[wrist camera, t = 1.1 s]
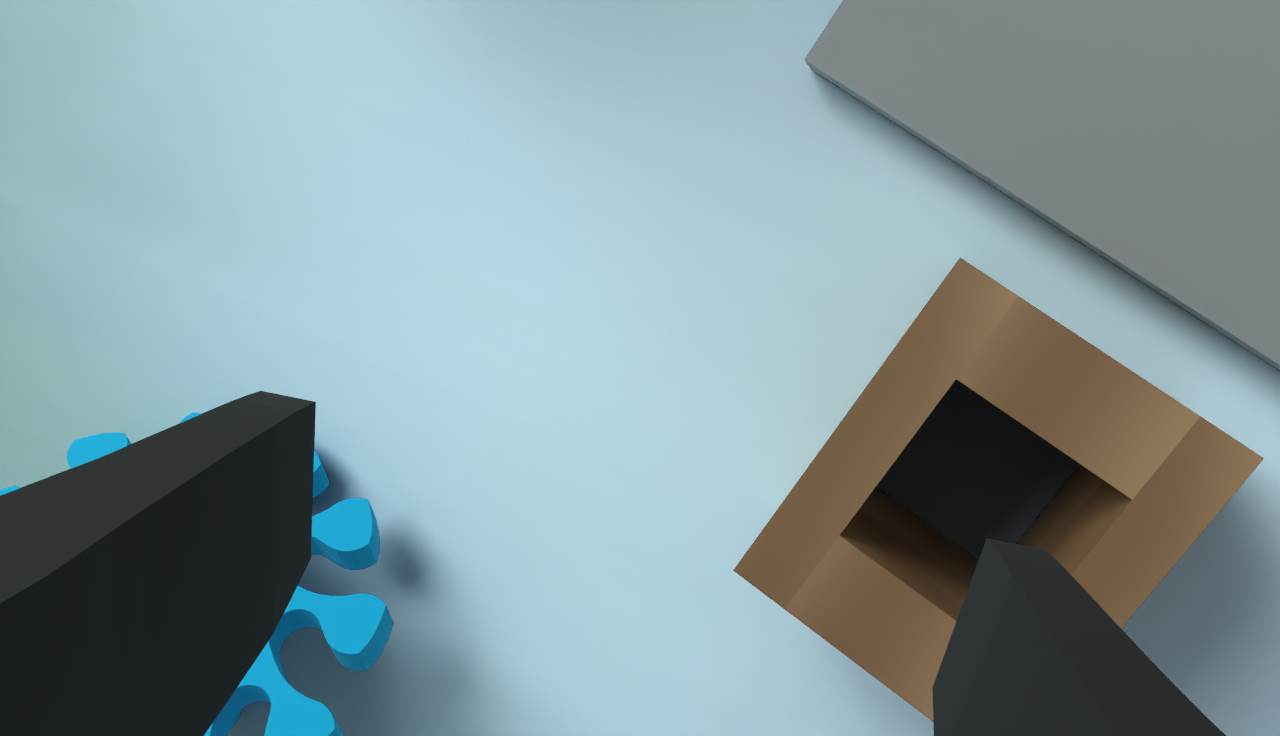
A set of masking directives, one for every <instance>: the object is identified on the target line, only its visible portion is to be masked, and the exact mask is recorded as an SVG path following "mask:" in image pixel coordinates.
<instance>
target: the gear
mask: <svg viewBox="0 0 1280 736" xmlns="http://www.w3.org/2000/svg"><path fill="white" fill-rule="evenodd" d="M198 415H200V414H199V413H191V414H190V415H188V416H186V417H185V418H184V419H183V420H182V421H181V422H180V423H182V422H184V421H187V420H189V419H191V418H193V417H196V416H198ZM180 423H179V424H180ZM128 445H131V443H130V441H129V440H128V438H127V437H126V435H125V433H103V434H98V435H93V436H89V437H85V438H81V439H77V440H75V441H74V442H73V443H72V445H71V446H70V448H69V450H68V454H67V461H68V464H69V466H70V468H71V469H72V468H74V467H77V466H80V465H82V464H85V463H87V462H90V461H93V460H95V459H98V458H100V457H103V456H105V455H107V454H110V453H112V452H114V451H117V450H119V449H121V448H124V447H126V446H128ZM328 485H329V480H328V477H327V475H326V472H325V470H324V468H323V466H322V463H321V461H320V459H319V456H318V455H317V453H316V451H315V450H314V470H313V498H314V497H316V496H318V495H319V494H321V493H322V492H323V491H324V490H325V489H326V488H327V487H328ZM17 489H19V487H17V486H12V487H9V488H6V489H3V490H1V491H0V496H1V495H4V494H6V493H9V492H11V491H14V490H17ZM379 551H380V538H379V531H378V526H377V521H376V518H375V515H374V513H373V510H372V508H371V505H370V503H369V500H367V499H363V498H350V499H345V500H343V501H340V502H338V503H337V504H335V505H333V506H332V507H330V508H329V509H327V510H325V511H323V512H321V513H319V514H317V515H315V516H312V537H311V555H312V554H317V555H322V556H324V557H326V558H328V559H329V560H331V561H333V562H334V563H336V564H337V565H339V566H341V567H343V568H345V569H349V570H360V569H365V568H367V567H370V566H372V565H374V564H375V563H377V560H378V556H379ZM393 624H394V623H393V620H392V618H391V616H390V614H389V611H388V609H387V607H386V605H385V604H384V603H383V601H382V600H381V599H379V598H377V597H376V596H373V595H370V594H362V593H359V594H353V595H347V596H329V595H322V594H317V593H314V592H311V591H307V590H305V589H303V588H301V587H300V586H297V588H296V590H295V592H294V594H293V596H292V598H291V600H290V602H289V604H288V606H287V608H286V610H285V612H284V614H283V616H282V618H281V620H280V621H279V623H278V625H277V627H276V629H275V631H274V633H273V635H272V636H271V638H270V639H269V641H268V642H267V644H266V645H265V647H264V649H263V650H262V652H261V653H260V655H259V656H258V657H257V659H256V660H255V662H254V663H253V665H252V666H251V668H250V669H249V671H248V672H247V674H246V675H245V677H244V678H243V680H242V681H241V683H240V684H239V685H238V687H237V688H236V690H235V691H234V693H233V694H232V696H231V697H230V699H229V700H228V702H227V703H226V704H225V706H224V707H223V709H222V710H221V712H220V713H219V715H218V716H217V717H216V719H215V720H214V722H213V723H212V725H211V726H210V728H209V729H208V730H207V732H206V733H205V735H204V736H227V735H228V731H229V729H231V728H232V727H233V726H234V725H235V724H236V722H237V721H238V719H239V717H240V715H241V709H242V708H244V707H245V706H247V705H249V704H251V703H253V702H259V701H265V702H269V703H271V709H270V714H269V718H268V722H267V725H266V729H265V734H264V736H344V735H343V733H342V730H341V728H340V726H339V725H338V723H337V721H336V720H335V718H334V717H333V715H332V713H331V712H330V711H329V709H328V708H327V707H326V706H325V705H323V704H322V703H320V702H318V701H316V700H313V699H310V698H307V697H306V696H304V695H302V694H301V693H299V692H298V691H296V690H295V689H294V688H293V687H292V686H290V685H289V684H288V682H287V679H286V677H285V674H284V671H283V668H282V665H281V662H280V656H279V655H280V649H281V646H282V644H283V642H284V641H285V639H286V638H287V637H288V636H289V635H290V634H291V633H293V632H294V631H296V630H298V629H301V628H305V627H314V628H318V629H320V630H322V631H323V633H324V636H325V638H326V640H327V642H328V644H329V646H330V648H331V649H332V651H333V653H334V655H335V657H336V658H337V660H338V661H339V662H340V663H341V665H343V666H344V667H346V668H348V669H351V670H355V671H365V670H368V669H369V668H370V667H371V666H372V665H373V664H374V663H375V662H376V660H377V659H378V657H379V656H380V654H381V652H382V651H383V649H384V647H385V644H386V642H387V640H388V638H389V635H390V632H391V630H392V627H393Z"/></svg>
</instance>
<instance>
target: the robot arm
mask: <svg viewBox="0 0 1280 736" xmlns="http://www.w3.org/2000/svg"><path fill="white" fill-rule="evenodd" d="M315 403H316V402H313V401H308V400H303V399H298V398H293V397H288V396H283V395H278V394H273V393H268V392H263V391H259V392H256V393H253V394H250V395H247V396H244V397H242V398H239V399H236V400H234V401H231V402H229V403H226V404H224V405H221V406H219V407H217V408H214V409H212V410H210V411H207V412H205V413H203V414H200V415H198V416H196V417H193V418H191V419H189V420H187V421H184V422H182V423H180V424H177V425H175V426H173V427H171V428H168V429H166V430H164V431H161V432H159V433H157V434H154V435H152V436H150V437H147V438H145V439H143V440H140V441H138V442H135V443H133V444H131V445H128V446H126V447H124V448H121V449H119V450H117V451H114V452H112V453H110V454H107V455H105V456H103V457H100V458H98V459H95V460H93V461H90V462H87V463H85V464H82V465H80V466H77V467H74V468H72V469H69V470H67V471H64V472H61V473H59V474H56V475H53V476H51V477H48V478H46V479H43V480H40V481H38V482H35V483H32V484H30V485H27V486H25V487H22V488H19V489H17V490H14V491H11V492H9V493H6V494H4V495H1V496H0V736H204V735H205V733H206V732H207V730H208V729H209V728H210V726H211V725H212V723H213V722H214V720H215V719H216V717H217V716H218V715H219V713H220V712H221V710H222V709H223V707H224V706H225V704H226V703H227V702H228V700H229V699H230V697H231V696H232V694H233V693H234V691H235V690H236V688H237V687H238V685H239V684H240V683H241V681H242V680H243V678H244V677H245V675H246V674H247V672H248V671H249V669H250V668H251V666H252V665H253V663H254V662H255V660H256V659H257V657H258V656H259V655H260V653H261V652H262V650H263V649H264V647H265V645H266V644H267V642H268V641H269V639H270V638H271V636H272V635H273V633H274V631H275V629H276V627H277V625H278V623H279V621H280V620H281V618H282V616H283V614H284V612H285V610H286V608H287V606H288V604H289V602H290V600H291V598H292V596H293V594H294V592H295V590H296V588H297V586H298V584H299V581H300V579H301V577H302V575H303V573H304V571H305V569H306V567H307V565H308V563H309V561H310V559H311V537H312V503H313V470H314V437H315ZM932 690H933V720H934V736H1226V735H1225V734H1224V733H1223V732H1222V731H1220V730H1219V729H1218V728H1217V727H1216V726H1215V725H1214V724H1213V723H1212V722H1211V721H1210V720H1209V719H1208V718H1207V717H1206V716H1205V715H1204V714H1203V713H1202V712H1201V711H1200V710H1199V709H1198V708H1197V707H1196V706H1195V705H1194V704H1193V703H1192V702H1191V701H1190V700H1189V699H1188V698H1187V697H1186V696H1185V695H1184V694H1183V693H1182V692H1181V691H1180V690H1179V689H1178V688H1177V687H1176V686H1175V685H1174V684H1173V683H1172V682H1171V681H1170V680H1169V679H1168V678H1167V677H1166V676H1165V675H1164V674H1163V673H1162V672H1161V671H1160V670H1159V669H1158V668H1157V667H1156V665H1155V664H1154V663H1153V662H1152V661H1151V660H1150V659H1149V658H1148V657H1147V656H1146V655H1145V654H1144V653H1143V652H1142V651H1141V650H1140V649H1139V648H1138V646H1137V645H1136V644H1135V643H1134V642H1133V641H1132V640H1131V639H1130V638H1129V637H1128V636H1127V635H1126V634H1125V633H1124V631H1123V630H1122V629H1121V628H1120V627H1119V626H1118V625H1117V624H1116V623H1115V622H1114V621H1113V620H1112V618H1111V617H1110V616H1109V615H1108V614H1107V613H1106V612H1105V611H1104V610H1103V609H1102V608H1101V606H1100V605H1099V604H1098V603H1097V602H1096V601H1095V600H1094V599H1093V598H1092V597H1091V596H1090V595H1089V593H1088V592H1087V591H1086V590H1085V589H1084V588H1083V587H1082V586H1081V585H1080V584H1079V583H1078V582H1077V581H1076V580H1075V579H1074V577H1073V576H1072V575H1071V574H1070V573H1069V572H1068V571H1067V570H1066V569H1065V568H1064V567H1063V566H1062V565H1061V564H1060V563H1059V562H1058V561H1057V560H1056V559H1055V558H1054V557H1053V556H1052V555H1050V554H1049V553H1048V552H1047V551H1046V550H1044V549H1039V548H1034V547H1029V546H1024V545H1019V544H1014V543H1009V542H1004V541H999V540H995V539H990V538H986V541H985V544H984V547H983V549H982V552H981V555H980V558H979V560H978V563H977V566H976V569H975V571H974V574H973V577H972V580H971V582H970V585H969V588H968V591H967V593H966V596H965V599H964V602H963V605H962V607H961V610H960V613H959V616H958V618H957V621H956V624H955V627H954V629H953V632H952V635H951V638H950V640H949V643H948V646H947V649H946V651H945V654H944V657H943V660H942V662H941V665H940V668H939V671H938V674H937V676H936V679H935V682H934V685H933V687H932Z"/></svg>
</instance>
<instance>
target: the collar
mask: <svg viewBox="0 0 1280 736" xmlns="http://www.w3.org/2000/svg"><path fill="white" fill-rule="evenodd" d="M956 379H957V380H958V381H960V382H961V383H963V384H964V385H966V386H967V387H968V388H970V389H971V390H973V391H974V392H976V393H977V394H979V395H980V396H982V397H983V398H985V399H986V400H987V401H989V402H990V403H992V404H993V405H995V406H996V407H998V408H999V409H1001V410H1002V411H1003V412H1005V413H1006V414H1008V415H1009V416H1011V417H1012V418H1014V419H1015V420H1017V421H1018V422H1020V423H1021V424H1022V425H1024V426H1025V427H1027V428H1028V429H1030V430H1031V431H1033V432H1034V433H1036V434H1037V435H1039V436H1040V437H1041V438H1043V439H1044V440H1046V441H1047V442H1049V443H1050V444H1052V445H1053V446H1055V447H1056V448H1057V449H1059V450H1060V451H1062V452H1063V453H1065V454H1066V455H1068V456H1069V457H1071V458H1072V459H1074V460H1075V461H1076V462H1078V463H1079V464H1080V465H1079V466H1078V467H1077V468H1076V470H1075V471H1074V472H1073V473H1072V475H1071V476H1070V477H1069V478H1068V480H1067V481H1066V482H1065V483H1064V485H1063V486H1062V487H1061V489H1060V490H1059V491H1058V492H1057V494H1056V495H1055V496H1054V497H1053V499H1052V500H1051V501H1050V502H1049V504H1048V505H1047V506H1046V507H1045V509H1044V510H1043V511H1042V512H1041V514H1040V515H1039V516H1038V518H1037V519H1036V520H1035V521H1034V523H1033V524H1032V525H1031V526H1030V528H1029V529H1028V530H1027V531H1026V533H1025V534H1024V535H1023V536H1022V538H1021V539H1020V540H1019V541H1018V543H1017V544H1019V545H1024V546H1029V547H1034V548H1039V549H1044V550H1046V551H1047V552H1048V553H1049V554H1050V555H1052V556H1053V557H1054V558H1055V559H1056V560H1057V561H1058V562H1059V563H1060V564H1061V565H1062V566H1063V567H1064V568H1065V569H1066V570H1067V571H1068V572H1069V573H1070V574H1071V575H1072V576H1073V577H1074V579H1075V580H1076V581H1077V582H1078V583H1079V584H1080V585H1081V586H1082V587H1083V588H1084V589H1085V590H1086V591H1087V592H1088V593H1089V595H1090V596H1091V597H1092V598H1093V599H1094V600H1095V601H1096V602H1097V603H1098V604H1099V605H1100V606H1101V608H1102V609H1103V610H1104V611H1105V612H1106V613H1107V614H1108V615H1109V616H1110V617H1111V618H1112V620H1113V621H1114V622H1115V623H1116V624H1117V625H1118V626H1119V627H1120V628H1122V627H1123V626H1124V624H1125V623H1126V622H1127V621H1128V620H1129V619H1130V617H1131V616H1132V615H1133V614H1134V613H1135V611H1136V610H1137V609H1138V608H1139V607H1140V605H1141V604H1142V603H1143V602H1144V601H1145V599H1146V598H1147V597H1148V596H1149V595H1150V594H1151V592H1152V591H1153V590H1154V589H1155V588H1156V586H1157V585H1158V584H1159V583H1160V582H1161V580H1162V579H1163V578H1164V577H1165V576H1166V574H1167V573H1168V572H1169V571H1170V570H1171V569H1172V567H1173V566H1174V565H1175V564H1176V563H1177V561H1178V560H1179V559H1180V558H1181V557H1182V555H1183V554H1184V553H1185V552H1186V551H1187V549H1188V548H1189V547H1190V546H1191V545H1192V543H1193V542H1194V541H1195V540H1196V539H1197V538H1198V536H1199V535H1200V534H1201V533H1202V532H1203V530H1204V529H1205V528H1206V527H1207V526H1208V524H1209V523H1210V522H1211V521H1212V520H1213V518H1214V517H1215V516H1216V515H1217V514H1218V513H1219V511H1220V510H1221V509H1222V508H1223V507H1224V505H1225V504H1226V503H1227V502H1228V501H1229V499H1230V498H1231V497H1232V496H1233V495H1234V493H1235V492H1236V491H1237V490H1238V489H1239V487H1240V486H1241V485H1242V484H1243V483H1244V482H1245V480H1246V479H1247V478H1248V477H1249V476H1250V474H1251V473H1252V472H1253V471H1254V470H1255V468H1256V467H1257V466H1258V465H1259V464H1260V462H1261V461H1262V460H1263V459H1264V458H1262V457H1261V456H1259V455H1258V454H1256V453H1255V452H1253V451H1252V450H1250V449H1249V448H1247V447H1246V446H1244V445H1243V444H1241V443H1240V442H1238V441H1237V440H1235V439H1234V438H1232V437H1231V436H1229V435H1228V434H1226V433H1225V432H1223V431H1222V430H1220V429H1219V428H1217V427H1215V426H1214V425H1212V424H1211V423H1209V422H1208V421H1206V420H1205V419H1203V418H1202V417H1200V416H1199V415H1197V414H1196V413H1194V412H1193V411H1191V410H1190V409H1188V408H1187V407H1185V406H1184V405H1182V404H1181V403H1179V402H1178V401H1176V400H1175V399H1173V398H1172V397H1170V396H1169V395H1167V394H1166V393H1164V392H1163V391H1161V390H1160V389H1158V388H1156V387H1155V386H1153V385H1152V384H1150V383H1149V382H1147V381H1146V380H1144V379H1143V378H1141V377H1140V376H1138V375H1137V374H1135V373H1134V372H1132V371H1131V370H1129V369H1128V368H1126V367H1125V366H1123V365H1122V364H1120V363H1119V362H1117V361H1116V360H1114V359H1113V358H1111V357H1110V356H1108V355H1107V354H1105V353H1104V352H1102V351H1101V350H1099V349H1097V348H1096V347H1094V346H1093V345H1091V344H1090V343H1088V342H1087V341H1085V340H1084V339H1082V338H1081V337H1079V336H1078V335H1076V334H1075V333H1073V332H1072V331H1070V330H1069V329H1067V328H1066V327H1064V326H1063V325H1061V324H1060V323H1058V322H1057V321H1055V320H1054V319H1052V318H1051V317H1049V316H1048V315H1046V314H1045V313H1043V312H1042V311H1040V310H1039V309H1037V308H1035V307H1034V306H1032V305H1031V304H1029V303H1028V302H1026V301H1025V300H1023V299H1022V298H1020V297H1019V296H1017V295H1016V294H1014V293H1013V292H1011V291H1010V290H1008V289H1007V288H1005V287H1004V286H1002V285H1001V284H999V283H998V282H996V281H995V280H993V279H992V278H990V277H989V276H987V275H986V274H984V273H983V272H981V271H980V270H978V269H976V268H975V267H973V266H972V265H970V264H969V263H967V262H966V261H964V260H963V259H961V258H960V259H959V260H958V261H957V263H956V264H955V265H954V267H953V268H952V270H951V271H950V272H949V274H948V275H947V276H946V278H945V279H944V281H943V282H942V283H941V285H940V286H939V287H938V289H937V290H936V292H935V293H934V294H933V296H932V297H931V299H930V300H929V301H928V303H927V304H926V305H925V307H924V308H923V310H922V311H921V312H920V314H919V315H918V316H917V318H916V319H915V321H914V322H913V323H912V325H911V326H910V327H909V329H908V330H907V332H906V333H905V334H904V336H903V337H902V339H901V340H900V341H899V343H898V344H897V345H896V347H895V348H894V350H893V351H892V352H891V354H890V355H889V356H888V358H887V359H886V361H885V362H884V363H883V365H882V366H881V367H880V369H879V370H878V372H877V373H876V374H875V376H874V377H873V379H872V380H871V381H870V383H869V384H868V385H867V387H866V388H865V390H864V391H863V392H862V394H861V395H860V396H859V398H858V399H857V401H856V402H855V403H854V405H853V406H852V407H851V409H850V410H849V412H848V413H847V414H846V416H845V417H844V419H843V420H842V421H841V423H840V424H839V425H838V427H837V428H836V430H835V431H834V432H833V434H832V435H831V436H830V438H829V439H828V441H827V442H826V443H825V445H824V446H823V447H822V449H821V450H820V452H819V453H818V454H817V456H816V457H815V459H814V460H813V461H812V463H811V464H810V465H809V467H808V468H807V470H806V471H805V472H804V474H803V475H802V476H801V478H800V479H799V481H798V482H797V483H796V485H795V486H794V487H793V489H792V490H791V492H790V493H789V494H788V496H787V497H786V499H785V500H784V501H783V503H782V504H781V505H780V507H779V508H778V510H777V511H776V512H775V514H774V515H773V516H772V518H771V519H770V521H769V522H768V523H767V525H766V526H765V527H764V529H763V530H762V532H761V533H760V534H759V536H758V537H757V539H756V540H755V541H754V543H753V544H752V545H751V547H750V548H749V550H748V551H747V552H746V554H745V555H744V556H743V558H742V559H741V561H740V562H739V563H738V565H737V566H736V567H735V569H734V570H733V571H735V572H736V573H737V574H739V575H740V576H741V577H743V578H744V579H745V580H747V581H748V582H749V583H751V584H752V585H753V586H755V587H756V588H757V589H759V590H760V591H761V592H763V593H764V594H765V595H767V596H768V597H769V598H770V599H772V600H773V601H774V602H776V603H777V604H778V605H780V606H781V607H782V608H784V609H785V610H786V611H788V612H789V613H790V614H792V615H793V616H794V617H796V618H797V619H798V620H800V621H801V622H802V623H804V624H805V625H806V626H808V627H809V628H810V629H811V630H813V631H814V632H815V633H817V634H818V635H819V636H821V637H822V638H823V639H825V640H826V641H827V642H829V643H830V644H831V645H833V646H834V647H835V648H837V649H838V650H839V651H841V652H842V653H843V654H845V655H846V656H847V657H849V658H850V659H851V660H852V661H854V662H855V663H856V664H858V665H859V666H860V667H862V668H863V669H864V670H866V671H867V672H868V673H870V674H871V675H872V676H874V677H875V678H876V679H878V680H879V681H880V682H882V683H883V684H884V685H886V686H887V687H888V688H890V689H891V690H892V691H893V692H895V693H896V694H897V695H899V696H900V697H901V698H903V699H904V700H905V701H907V702H908V703H909V704H911V705H912V706H913V707H915V708H916V709H917V710H919V711H920V712H921V713H923V714H924V715H925V716H927V717H928V718H929V719H931V720H932V721H933V722H934V720H933V690H932V687H933V685H934V682H935V679H936V676H937V674H938V671H939V668H940V665H941V662H942V660H943V657H944V654H945V651H946V649H947V646H948V643H949V640H950V638H951V635H952V632H953V629H954V627H955V624H956V621H957V618H958V616H959V613H960V610H961V607H962V605H963V602H964V599H965V596H966V593H967V591H968V588H969V585H970V582H971V580H972V577H973V574H974V571H975V569H976V566H977V563H978V560H977V559H976V558H975V557H973V556H972V555H970V554H969V553H968V552H966V551H965V550H964V549H962V548H961V547H959V546H958V545H957V544H955V543H954V542H952V541H951V540H950V539H948V538H947V537H945V536H944V535H943V534H941V533H940V532H938V531H937V530H936V529H934V528H933V527H931V526H930V525H929V524H927V523H926V522H925V521H923V520H922V519H920V518H919V517H918V516H916V515H915V514H913V513H912V512H911V511H909V510H908V509H906V508H905V507H904V506H902V505H901V504H899V503H898V502H897V501H895V500H894V499H892V498H891V497H890V496H888V495H887V494H886V493H884V492H883V491H881V490H880V489H879V488H877V487H876V486H877V484H878V483H879V482H880V480H881V479H882V478H883V476H884V475H885V474H886V472H887V471H888V470H889V468H890V467H891V466H892V464H893V463H894V462H895V460H896V459H897V458H898V456H899V455H900V454H901V452H902V451H903V450H904V448H905V447H906V446H907V444H908V443H909V442H910V440H911V439H912V438H913V436H914V435H915V434H916V432H917V431H918V430H919V428H920V427H921V425H922V424H923V423H924V421H925V420H926V419H927V417H928V416H929V415H930V413H931V412H932V411H933V409H934V408H935V407H936V405H937V404H938V403H939V401H940V400H941V399H942V397H943V396H944V395H945V393H946V392H947V391H948V389H949V388H950V387H951V385H952V384H953V383H954V381H955V380H956Z"/></svg>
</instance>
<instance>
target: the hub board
mask: <svg viewBox="0 0 1280 736" xmlns="http://www.w3.org/2000/svg"><path fill="white" fill-rule="evenodd" d="M805 61H806V63H807V64H808V66H809V67H810V68H811V70H813V71H814V72H816V73H817V74H819V75H821V76H822V77H824V78H825V79H827V80H828V81H830V82H831V83H833V84H835V85H836V86H838V87H839V88H841V89H842V90H844V91H845V92H847V93H849V94H850V95H852V96H853V97H855V98H856V99H858V100H859V101H861V102H863V103H864V104H866V105H867V106H869V107H870V108H872V109H873V110H875V111H877V112H878V113H880V114H881V115H883V116H884V117H886V118H887V119H889V120H891V121H892V122H894V123H895V124H897V125H898V126H900V127H901V128H903V129H905V130H906V131H908V132H909V133H911V134H912V135H914V136H915V137H917V138H919V139H920V140H922V141H923V142H925V143H926V144H928V145H929V146H931V147H933V148H934V149H936V150H937V151H939V152H940V153H942V154H943V155H945V156H947V157H948V158H950V159H951V160H953V161H954V162H956V163H957V164H959V165H961V166H962V167H964V168H965V169H967V170H968V171H970V172H971V173H973V174H975V175H976V176H978V177H979V178H981V179H982V180H984V181H985V182H987V183H989V184H990V185H992V186H993V187H995V188H996V189H998V190H999V191H1001V192H1003V193H1004V194H1006V195H1007V196H1009V197H1010V198H1012V199H1013V200H1015V201H1017V202H1018V203H1020V204H1021V205H1023V206H1024V207H1026V208H1027V209H1029V210H1031V211H1032V212H1034V213H1035V214H1037V215H1038V216H1040V217H1041V218H1043V219H1045V220H1046V221H1048V222H1049V223H1051V224H1052V225H1054V226H1055V227H1057V228H1059V229H1060V230H1062V231H1063V232H1065V233H1066V234H1068V235H1069V236H1071V237H1073V238H1074V239H1076V240H1077V241H1079V242H1080V243H1082V244H1083V245H1085V246H1087V247H1088V248H1090V249H1091V250H1093V251H1094V252H1096V253H1097V254H1099V255H1101V256H1102V257H1104V258H1105V259H1107V260H1108V261H1110V262H1111V263H1113V264H1115V265H1116V266H1118V267H1119V268H1121V269H1122V270H1124V271H1125V272H1127V273H1129V274H1130V275H1132V276H1133V277H1135V278H1136V279H1138V280H1139V281H1141V282H1143V283H1144V284H1146V285H1147V286H1149V287H1150V288H1152V289H1153V290H1155V291H1157V292H1158V293H1160V294H1161V295H1163V296H1164V297H1166V298H1167V299H1169V300H1171V301H1172V302H1174V303H1175V304H1177V305H1178V306H1180V307H1181V308H1183V309H1185V310H1186V311H1188V312H1189V313H1191V314H1192V315H1194V316H1195V317H1197V318H1199V319H1200V320H1202V321H1203V322H1205V323H1206V324H1208V325H1209V326H1211V327H1213V328H1214V329H1216V330H1217V331H1219V332H1220V333H1222V334H1223V335H1225V336H1227V337H1228V338H1230V339H1231V340H1233V341H1234V342H1236V343H1237V344H1239V345H1241V346H1242V347H1244V348H1245V349H1247V350H1248V351H1250V352H1251V353H1253V354H1255V355H1256V356H1258V357H1259V358H1261V359H1262V360H1264V361H1265V362H1267V363H1269V364H1270V365H1272V366H1273V367H1275V368H1276V369H1278V370H1279V371H1280V0H843V2H842V3H841V5H840V6H839V8H838V9H837V11H836V12H835V14H834V16H833V17H832V19H831V20H830V22H829V23H828V25H827V26H826V28H825V29H824V31H823V32H822V34H821V35H820V37H819V38H818V40H817V41H816V43H815V44H814V46H813V48H812V49H811V51H810V52H809V54H808V55H807V57H806V58H805Z"/></svg>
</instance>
